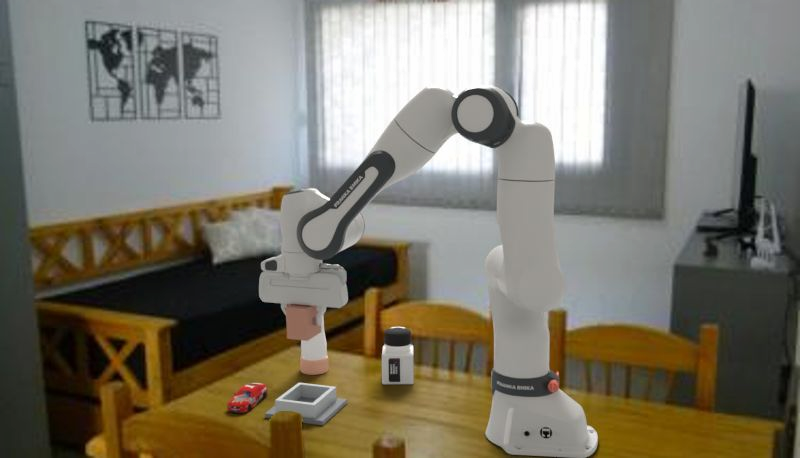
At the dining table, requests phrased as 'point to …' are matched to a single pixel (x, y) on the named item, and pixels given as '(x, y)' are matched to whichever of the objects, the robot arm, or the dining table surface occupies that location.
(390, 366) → the container
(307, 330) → the pink upright box
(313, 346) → the salt shaker
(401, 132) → the robot arm
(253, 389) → the race car
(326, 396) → the square socket base
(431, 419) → the dining table surface
